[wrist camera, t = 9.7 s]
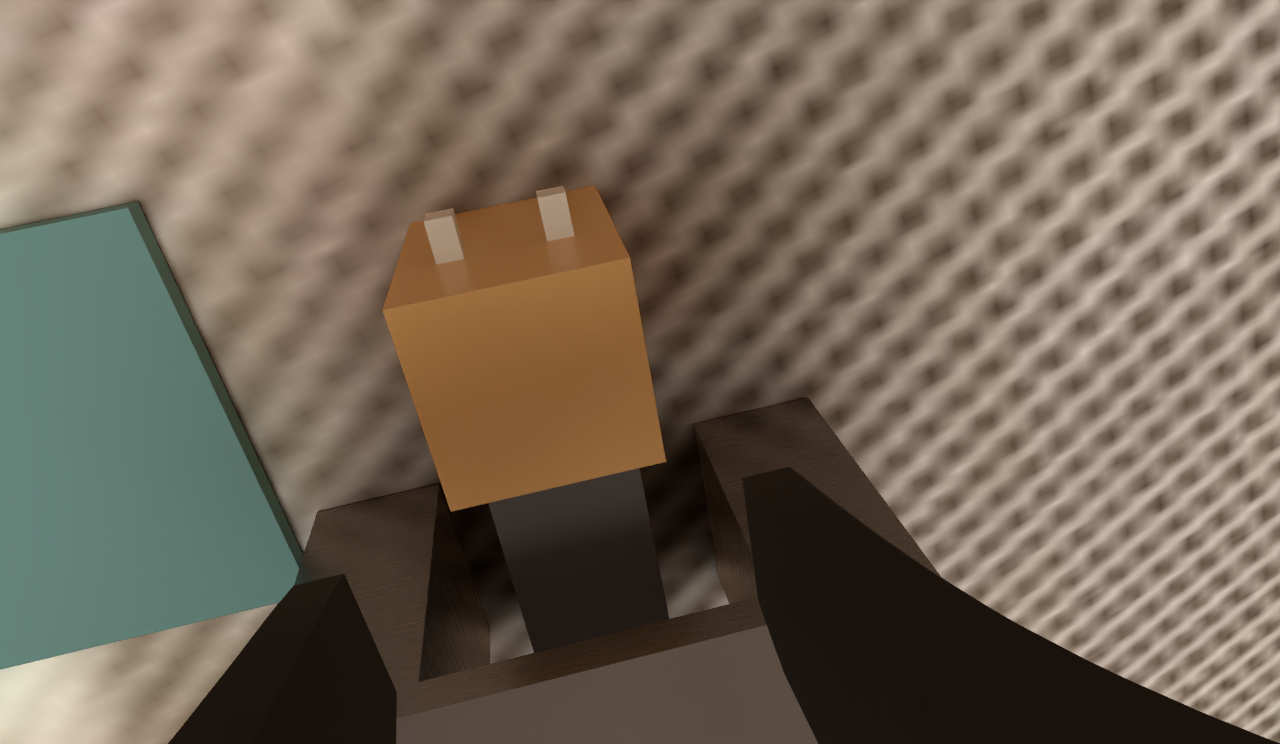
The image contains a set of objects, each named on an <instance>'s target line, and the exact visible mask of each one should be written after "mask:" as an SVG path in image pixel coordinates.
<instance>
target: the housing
mask: <svg viewBox="0 0 1280 744" xmlns="http://www.w3.org/2000/svg"><path fill="white" fill-rule="evenodd" d="M694 428H695V434H696V440H697V446H698V453H699V459H700V465H701V471H702V477H703V484H704V490H705V496H706V502H707V508H708V515H709V521H710V527H711V533H712V539H713V546H714V552H715V558H716V564H717V570H718V575H719V578H720V581H721V583H722V586H723V588H724V591H725V594H726V596H727V599H728V602H729V604H728V605H724V606H720V607H716V608H712V609H708V610H704V611H700V612H696V613H692V614H688V615H684V616H680V617H676V618H672V619H668V620H664V621H660V622H656V623H652V624H648V625H644V626H640V627H636V628H632V629H628V630H625V631H621V632H617V633H613V634H609V635H605V636H601V637H597V638H593V639H589V640H585V641H581V642H577V643H573V644H569V645H565V646H561V647H557V648H553V649H549V650H545V651H541V652H537V653H533V654H529V655H525V656H521V657H517V658H513V659H509V660H505V661H501V662H497V663H493V664H490V629H489V626H488V623H487V621H486V618H485V615H484V612H483V609H482V606H481V603H480V601H479V598H478V595H477V592H476V589H475V586H474V583H473V580H472V578H471V575H470V572H469V569H468V566H467V563H466V560H465V557H464V555H463V552H462V549H461V546H460V543H459V540H458V537H457V534H456V532H455V529H454V526H453V523H452V520H451V517H450V514H449V511H448V509H447V506H446V503H445V500H444V497H443V494H442V491H441V488H440V486H439V484H436V485H432V486H428V487H423V488H419V489H415V490H410V491H406V492H402V493H398V494H393V495H389V496H385V497H381V498H376V499H372V500H368V501H363V502H359V503H355V504H351V505H346V506H342V507H338V508H333V509H329V510H325V511H321V512H317V515H316V518H315V521H314V524H313V527H312V530H311V533H310V537H309V540H308V543H307V546H306V549H305V552H304V555H303V558H302V561H301V565H300V568H299V571H298V574H297V577H296V580H295V583H294V585H298V584H302V583H306V582H311V581H315V580H319V579H323V578H327V577H331V576H336V575H340V574H345V576H346V579H347V581H348V583H349V585H350V588H351V590H352V592H353V594H354V597H355V599H356V601H357V603H358V606H359V608H360V610H361V613H362V615H363V617H364V619H365V622H366V624H367V626H368V628H369V631H370V633H371V635H372V637H373V640H374V642H375V644H376V646H377V649H378V651H379V653H380V655H381V658H382V660H383V662H384V664H385V667H386V669H387V671H388V673H389V676H390V678H391V680H392V682H393V685H394V687H395V689H396V692H397V717H396V744H818V742H817V740H816V738H815V736H814V734H813V732H812V730H811V728H810V726H809V724H808V722H807V720H806V718H805V716H804V714H803V712H802V709H801V707H800V705H799V703H798V701H797V699H796V697H795V695H794V693H793V691H792V689H791V687H790V685H789V683H788V681H787V678H786V676H785V674H784V672H783V669H782V666H781V663H780V661H779V658H778V655H777V652H776V650H775V647H774V644H773V642H772V639H771V636H770V633H769V630H768V627H767V624H766V622H765V619H764V616H763V613H762V610H761V607H760V605H759V602H758V595H757V587H756V580H755V572H754V565H753V557H752V550H751V542H750V535H749V527H748V520H747V512H746V505H745V497H744V490H743V482H742V478H745V477H749V476H753V475H757V474H761V473H765V472H770V471H774V470H778V469H782V468H786V467H791V468H792V469H794V470H795V471H797V472H798V473H799V474H801V475H802V476H803V477H805V478H806V479H807V480H808V481H810V482H811V483H812V484H813V485H815V486H816V487H817V488H818V489H820V490H821V491H822V492H823V493H825V494H826V495H827V496H829V497H830V498H831V499H832V500H834V501H835V502H836V503H838V504H839V505H840V506H841V507H843V508H844V509H845V510H847V511H848V512H849V513H851V514H852V515H853V516H855V517H856V518H857V519H859V520H860V521H861V522H863V523H864V524H865V525H867V526H868V527H869V528H871V529H872V530H873V531H875V532H876V533H877V534H879V535H880V536H882V537H883V538H884V539H886V540H887V541H889V542H890V543H892V544H893V545H894V546H896V547H897V548H899V549H900V550H902V551H903V552H905V553H906V554H907V555H909V556H910V557H912V558H913V559H915V560H916V561H917V562H919V563H920V564H922V565H923V566H925V567H926V568H928V569H929V570H931V571H932V572H934V573H935V574H937V575H938V576H940V575H939V573H938V572H937V571H936V569H935V568H934V567H933V565H932V564H931V563H930V561H929V560H928V559H927V557H926V556H925V555H924V553H923V552H922V551H921V549H920V548H919V547H918V545H917V544H916V543H915V541H914V540H913V538H912V537H911V536H910V534H909V533H908V532H907V530H906V529H905V528H904V526H903V525H902V524H901V522H900V521H899V520H898V518H897V517H896V516H895V514H894V513H893V512H892V510H891V509H890V507H889V506H888V505H887V503H886V502H885V501H884V499H883V498H882V497H881V495H880V494H879V493H878V491H877V490H876V489H875V487H874V486H873V485H872V483H871V482H870V481H869V479H868V478H867V476H866V475H865V474H864V472H863V471H862V470H861V468H860V467H859V466H858V464H857V463H856V462H855V460H854V459H853V458H852V456H851V455H850V454H849V452H848V451H847V450H846V448H845V447H844V445H843V444H842V443H841V441H840V440H839V439H838V437H837V436H836V435H835V433H834V432H833V431H832V429H831V428H830V427H829V425H828V424H827V423H826V421H825V420H824V419H823V417H822V416H821V414H820V413H819V412H818V410H817V409H816V408H815V406H814V405H813V404H812V402H811V401H810V400H809V398H804V399H799V400H795V401H791V402H787V403H782V404H778V405H774V406H770V407H765V408H761V409H757V410H752V411H748V412H744V413H740V414H735V415H731V416H727V417H723V418H718V419H714V420H710V421H705V422H701V423H697V424H694ZM940 577H941V576H940Z"/></svg>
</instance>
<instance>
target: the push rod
mask: <svg viewBox="0 0 1280 744" xmlns="http://www.w3.org/2000/svg"><path fill="white" fill-rule="evenodd" d="M488 504H489V507H490V510H491V514H492V517H493V520H494V523H495V527H496V530H497V533H498V536H499V540H500V543H501V546H502V549H503V553H504V556H505V559H506V562H507V566H508V569H509V572H510V575H511V579H512V582H513V585H514V588H515V592H516V595H517V598H518V601H519V605H520V608H521V611H522V614H523V618H524V621H525V624H526V627H527V631H528V634H529V637H530V640H531V644H532V647H533V650H534V653H537V652H541V651H545V650H549V649H553V648H557V647H561V646H565V645H569V644H573V643H577V642H581V641H585V640H589V639H593V638H597V637H601V636H605V635H609V634H613V633H617V632H621V631H625V630H628V629H632V628H636V627H640V626H644V625H648V624H652V623H656V622H660V621H664V620H668V619H669V616H668V611H667V606H666V601H665V596H664V591H663V586H662V580H661V575H660V570H659V565H658V560H657V555H656V550H655V545H654V540H653V534H652V529H651V524H650V519H649V514H648V509H647V504H646V499H645V494H644V488H643V483H642V478H641V473H640V468H637V469H633V470H628V471H624V472H620V473H616V474H611V475H607V476H603V477H598V478H594V479H590V480H585V481H581V482H577V483H572V484H568V485H564V486H559V487H555V488H551V489H546V490H542V491H538V492H534V493H529V494H525V495H521V496H516V497H512V498H508V499H503V500H499V501H495V502H490V503H488Z"/></svg>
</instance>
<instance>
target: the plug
mask: <svg viewBox="0 0 1280 744" xmlns="http://www.w3.org/2000/svg"><path fill="white" fill-rule="evenodd" d="M536 194H537V197H536V198H531V199H526V200H521V201H516V202H511V203H506V204H501V205H497V206H492V207H487V208H482V209H477V210H472V211H467V212H462V213H458V214H455V212H454V209H453V208H451V209H446V210H441V211H436V212H432V213H427V214H425V217H424V220H423V221H419V222H414V223H410V225H409V228H408V231H407V235H406V238H405V241H404V244H403V247H402V250H401V253H400V257H399V260H398V263H397V266H396V269H395V272H394V275H393V279H392V282H391V285H390V288H389V291H388V294H387V297H386V301H385V304H384V307H383V310H382V311H383V314H384V317H385V320H386V323H387V325H388V328H389V331H390V334H391V337H392V340H393V343H394V346H395V349H396V352H397V355H398V358H399V361H400V364H401V367H402V370H403V373H404V376H405V379H406V382H407V384H408V387H409V390H410V393H411V396H412V399H413V402H414V405H415V408H416V411H417V414H418V417H419V420H420V423H421V426H422V429H423V432H424V435H425V438H426V441H427V443H428V446H429V449H430V452H431V455H432V458H433V461H434V464H435V467H436V470H437V473H438V476H439V479H440V482H441V485H442V488H443V491H444V494H445V497H446V499H447V502H448V505H449V508H450V511H451V512H452V511H456V510H460V509H464V508H469V507H473V506H477V505H482V504H486V503H490V502H495V501H499V500H503V499H508V498H512V497H516V496H521V495H525V494H529V493H534V492H538V491H542V490H546V489H551V488H555V487H559V486H564V485H568V484H572V483H577V482H581V481H585V480H590V479H594V478H598V477H603V476H607V475H611V474H616V473H620V472H624V471H628V470H633V469H637V468H641V467H646V466H650V465H654V464H659V463H663V462H666V458H665V452H664V447H663V441H662V435H661V430H660V424H659V418H658V413H657V407H656V402H655V396H654V390H653V385H652V379H651V373H650V368H649V362H648V356H647V351H646V345H645V340H644V334H643V328H642V323H641V317H640V311H639V306H638V300H637V294H636V289H635V283H634V277H633V272H632V266H631V261H630V257H629V255H628V253H627V251H626V248H625V246H624V244H623V242H622V240H621V238H620V236H619V234H618V232H617V230H616V228H615V226H614V224H613V222H612V220H611V217H610V215H609V213H608V211H607V209H606V207H605V205H604V203H603V201H602V199H601V197H600V195H599V193H598V191H597V189H596V186H595V185H594V186H589V187H584V188H579V189H575V190H570V191H565V190H564V187H563V186H559V187H554V188H549V189H544V190H539V191H536Z"/></svg>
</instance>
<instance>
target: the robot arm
mask: <svg viewBox="0 0 1280 744" xmlns="http://www.w3.org/2000/svg"><path fill="white" fill-rule="evenodd" d="M742 482H743V490H744V497H745V505H746V512H747V520H748V527H749V535H750V542H751V550H752V557H753V565H754V572H755V580H756V587H757V595H758V602H759V605H760V607H761V610H762V613H763V616H764V619H765V622H766V624H767V627H768V630H769V633H770V636H771V639H772V642H773V644H774V647H775V650H776V652H777V655H778V658H779V661H780V663H781V666H782V669H783V672H784V674H785V676H786V678H787V681H788V683H789V685H790V687H791V689H792V691H793V693H794V695H795V697H796V699H797V701H798V703H799V705H800V707H801V709H802V712H803V714H804V716H805V718H806V720H807V722H808V724H809V726H810V728H811V730H812V732H813V734H814V736H815V738H816V740H817V742H818V744H1280V743H1277V742H1275V741H1272V740H1269V739H1266V738H1264V737H1261V736H1259V735H1256V734H1254V733H1251V732H1249V731H1246V730H1244V729H1241V728H1239V727H1237V726H1234V725H1232V724H1229V723H1227V722H1224V721H1222V720H1219V719H1217V718H1214V717H1212V716H1209V715H1207V714H1204V713H1202V712H1200V711H1197V710H1195V709H1193V708H1191V707H1188V706H1186V705H1184V704H1182V703H1179V702H1177V701H1175V700H1173V699H1170V698H1168V697H1166V696H1164V695H1161V694H1159V693H1157V692H1154V691H1152V690H1150V689H1148V688H1145V687H1143V686H1141V685H1139V684H1136V683H1134V682H1132V681H1130V680H1127V679H1125V678H1123V677H1121V676H1119V675H1117V674H1115V673H1113V672H1110V671H1108V670H1106V669H1104V668H1102V667H1100V666H1098V665H1096V664H1094V663H1092V662H1090V661H1088V660H1086V659H1084V658H1082V657H1080V656H1078V655H1076V654H1074V653H1072V652H1070V651H1068V650H1066V649H1064V648H1062V647H1060V646H1059V645H1057V644H1055V643H1053V642H1051V641H1049V640H1047V639H1045V638H1043V637H1041V636H1039V635H1038V634H1036V633H1034V632H1032V631H1030V630H1028V629H1026V628H1024V627H1022V626H1020V625H1019V624H1017V623H1015V622H1013V621H1012V620H1010V619H1008V618H1006V617H1005V616H1003V615H1001V614H1000V613H998V612H996V611H994V610H993V609H991V608H989V607H988V606H986V605H984V604H983V603H981V602H980V601H978V600H976V599H975V598H973V597H972V596H970V595H968V594H967V593H965V592H963V591H962V590H960V589H959V588H957V587H955V586H954V585H952V584H951V583H949V582H947V581H946V580H944V579H943V578H941V577H940V576H938V575H937V574H935V573H934V572H932V571H931V570H929V569H928V568H926V567H925V566H923V565H922V564H920V563H919V562H917V561H916V560H915V559H913V558H912V557H910V556H909V555H907V554H906V553H905V552H903V551H902V550H900V549H899V548H897V547H896V546H894V545H893V544H892V543H890V542H889V541H887V540H886V539H884V538H883V537H882V536H880V535H879V534H877V533H876V532H875V531H873V530H872V529H871V528H869V527H868V526H867V525H865V524H864V523H863V522H861V521H860V520H859V519H857V518H856V517H855V516H853V515H852V514H851V513H849V512H848V511H847V510H845V509H844V508H843V507H841V506H840V505H839V504H838V503H836V502H835V501H834V500H832V499H831V498H830V497H829V496H827V495H826V494H825V493H823V492H822V491H821V490H820V489H818V488H817V487H816V486H815V485H813V484H812V483H811V482H810V481H808V480H807V479H806V478H805V477H803V476H802V475H801V474H799V473H798V472H797V471H795V470H794V469H792V468H791V467H786V468H782V469H778V470H774V471H770V472H765V473H761V474H757V475H753V476H749V477H745V478H742ZM396 717H397V692H396V689H395V687H394V685H393V682H392V680H391V678H390V676H389V673H388V671H387V669H386V667H385V664H384V662H383V660H382V658H381V655H380V653H379V651H378V649H377V646H376V644H375V642H374V640H373V637H372V635H371V633H370V631H369V628H368V626H367V624H366V622H365V619H364V617H363V615H362V613H361V610H360V608H359V606H358V603H357V601H356V599H355V597H354V594H353V592H352V590H351V588H350V585H349V583H348V581H347V579H346V576H345V574H340V575H336V576H331V577H327V578H323V579H319V580H315V581H311V582H306V583H302V584H298V585H294V586H293V587H292V588H291V589H290V590H289V591H288V593H287V594H286V595H285V596H284V597H283V599H282V600H281V601H280V602H279V603H278V605H277V606H276V607H275V608H274V610H273V611H272V612H271V614H270V615H269V616H268V617H267V619H266V620H265V621H264V623H263V624H262V625H261V626H260V628H259V629H258V630H257V632H256V633H255V634H254V635H253V637H252V638H251V639H250V641H249V642H248V643H247V645H246V646H245V647H244V648H243V650H242V651H241V652H240V654H239V655H238V656H237V657H236V659H235V660H234V661H233V663H232V664H231V665H230V667H229V668H228V669H227V670H226V672H225V673H224V674H223V675H222V677H221V678H220V679H219V681H218V682H217V683H216V684H215V686H214V687H213V688H212V689H211V691H210V692H209V693H208V694H207V696H206V697H205V698H204V699H203V701H202V702H201V703H200V705H199V706H198V707H197V708H196V710H195V711H194V712H193V713H192V715H191V716H190V717H189V718H188V720H187V721H186V722H185V723H184V725H183V726H182V727H181V729H180V730H179V731H178V732H177V733H176V735H175V736H174V737H173V738H172V739H171V741H170V742H169V743H168V744H396Z"/></svg>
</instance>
